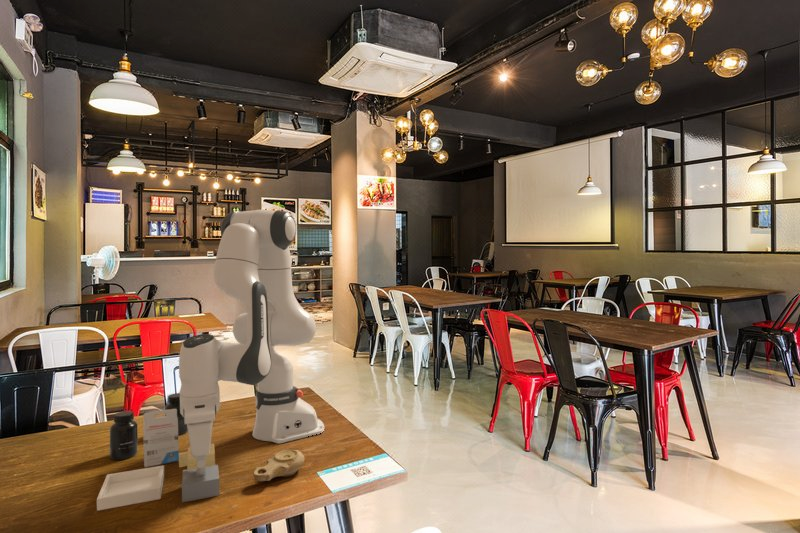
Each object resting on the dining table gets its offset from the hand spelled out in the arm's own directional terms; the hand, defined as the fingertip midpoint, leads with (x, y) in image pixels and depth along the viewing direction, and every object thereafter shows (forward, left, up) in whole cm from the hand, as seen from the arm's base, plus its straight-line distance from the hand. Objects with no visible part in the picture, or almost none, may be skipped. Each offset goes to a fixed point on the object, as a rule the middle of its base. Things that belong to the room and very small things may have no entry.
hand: (201, 459), depth 112 cm
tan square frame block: (0, 0, -1) cm, 1 cm away
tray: (+15, -5, -7) cm, 18 cm away
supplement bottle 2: (+7, -42, -8) cm, 44 cm away
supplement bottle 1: (+20, -29, -8) cm, 36 cm away
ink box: (+10, -21, -8) cm, 25 cm away
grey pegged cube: (0, +1, -7) cm, 7 cm away
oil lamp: (-19, +1, -8) cm, 20 cm away
